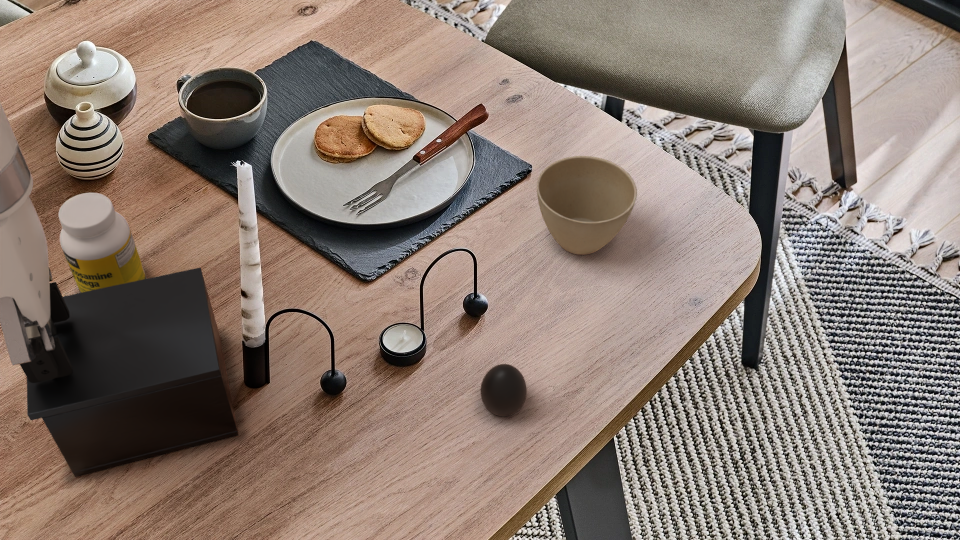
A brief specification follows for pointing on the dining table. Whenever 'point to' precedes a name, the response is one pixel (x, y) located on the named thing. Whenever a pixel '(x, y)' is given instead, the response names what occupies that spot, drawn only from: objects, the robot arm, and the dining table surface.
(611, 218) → the tan bowl
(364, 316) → the dining table surface
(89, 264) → the pill bottle
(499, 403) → the egg
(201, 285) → the lid
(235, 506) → the dining table surface
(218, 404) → the compartment
